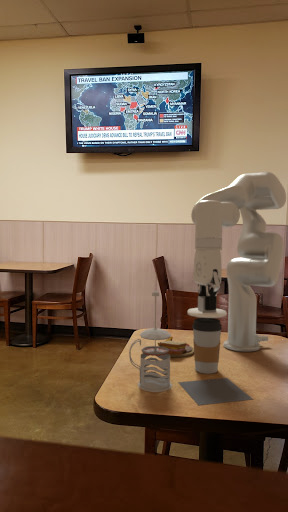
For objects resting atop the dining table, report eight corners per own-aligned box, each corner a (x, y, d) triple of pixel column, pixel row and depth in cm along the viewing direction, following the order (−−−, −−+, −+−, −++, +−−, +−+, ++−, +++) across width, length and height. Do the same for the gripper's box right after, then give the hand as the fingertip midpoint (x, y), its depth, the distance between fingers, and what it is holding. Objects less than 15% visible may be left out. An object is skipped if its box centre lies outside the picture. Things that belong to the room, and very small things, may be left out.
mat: (226, 379, 105) (226, 377, 105) (253, 401, 91) (253, 399, 91) (178, 384, 101) (178, 382, 101) (198, 407, 88) (198, 405, 88)
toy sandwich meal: (201, 351, 130) (201, 338, 130) (179, 362, 120) (179, 347, 120) (171, 345, 138) (171, 332, 138) (148, 353, 128) (148, 339, 127)
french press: (175, 394, 95) (176, 294, 93) (128, 394, 95) (128, 293, 93) (172, 379, 104) (173, 288, 103) (130, 379, 105) (130, 288, 103)
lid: (216, 309, 116) (216, 293, 116) (233, 317, 106) (233, 299, 106) (182, 311, 114) (182, 294, 114) (196, 318, 103) (196, 301, 103)
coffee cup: (220, 378, 106) (221, 324, 105) (190, 375, 108) (191, 322, 107) (221, 367, 114) (221, 317, 113) (192, 365, 116) (193, 316, 115)
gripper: (185, 243, 116) (184, 303, 117) (207, 245, 100) (206, 314, 101) (208, 243, 118) (207, 303, 119) (234, 245, 102) (232, 313, 103)
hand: (207, 307), depth 110 cm, fingers closed on lid, 4 cm apart
